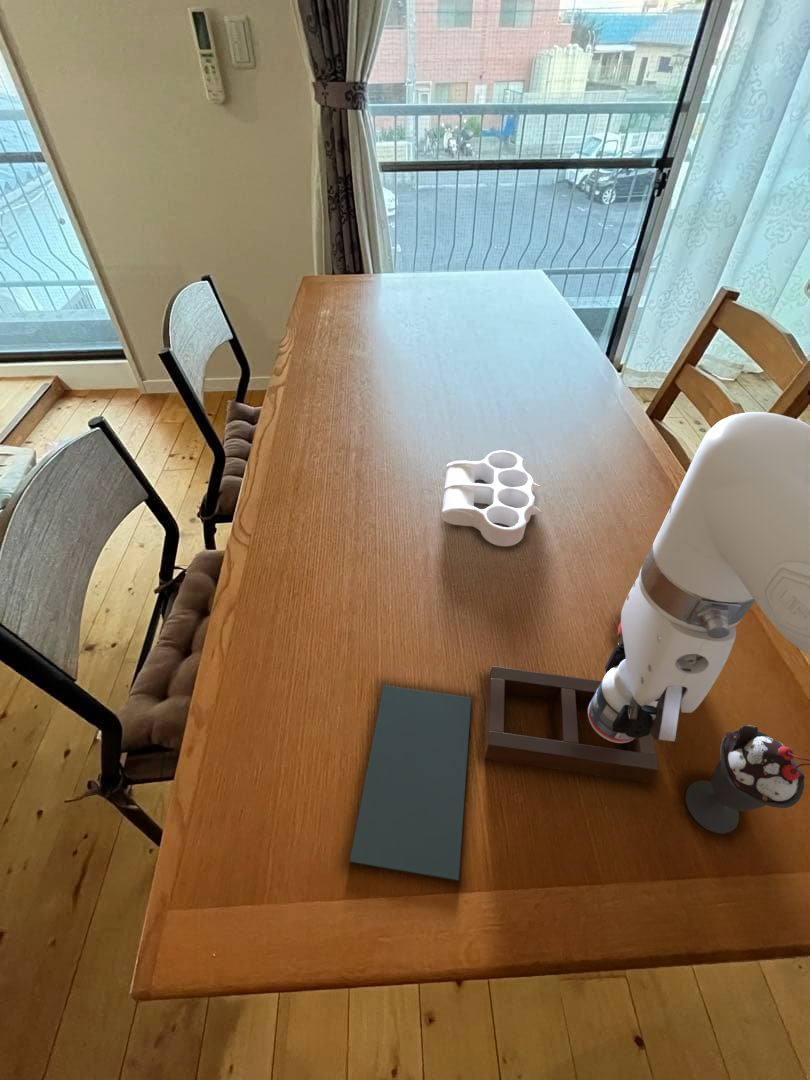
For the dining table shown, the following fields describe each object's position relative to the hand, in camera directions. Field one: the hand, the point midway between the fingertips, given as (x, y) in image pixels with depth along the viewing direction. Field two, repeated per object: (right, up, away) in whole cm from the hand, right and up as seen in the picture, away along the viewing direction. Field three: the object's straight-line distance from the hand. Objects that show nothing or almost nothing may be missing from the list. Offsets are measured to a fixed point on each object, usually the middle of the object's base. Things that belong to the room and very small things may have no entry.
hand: (625, 700), depth 53 cm
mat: (-20, -8, +3) cm, 22 cm away
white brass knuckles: (-8, +21, +32) cm, 39 cm away
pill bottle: (0, -3, +3) cm, 4 cm away
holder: (-4, -5, +7) cm, 10 cm away
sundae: (+9, -11, +2) cm, 15 cm away
